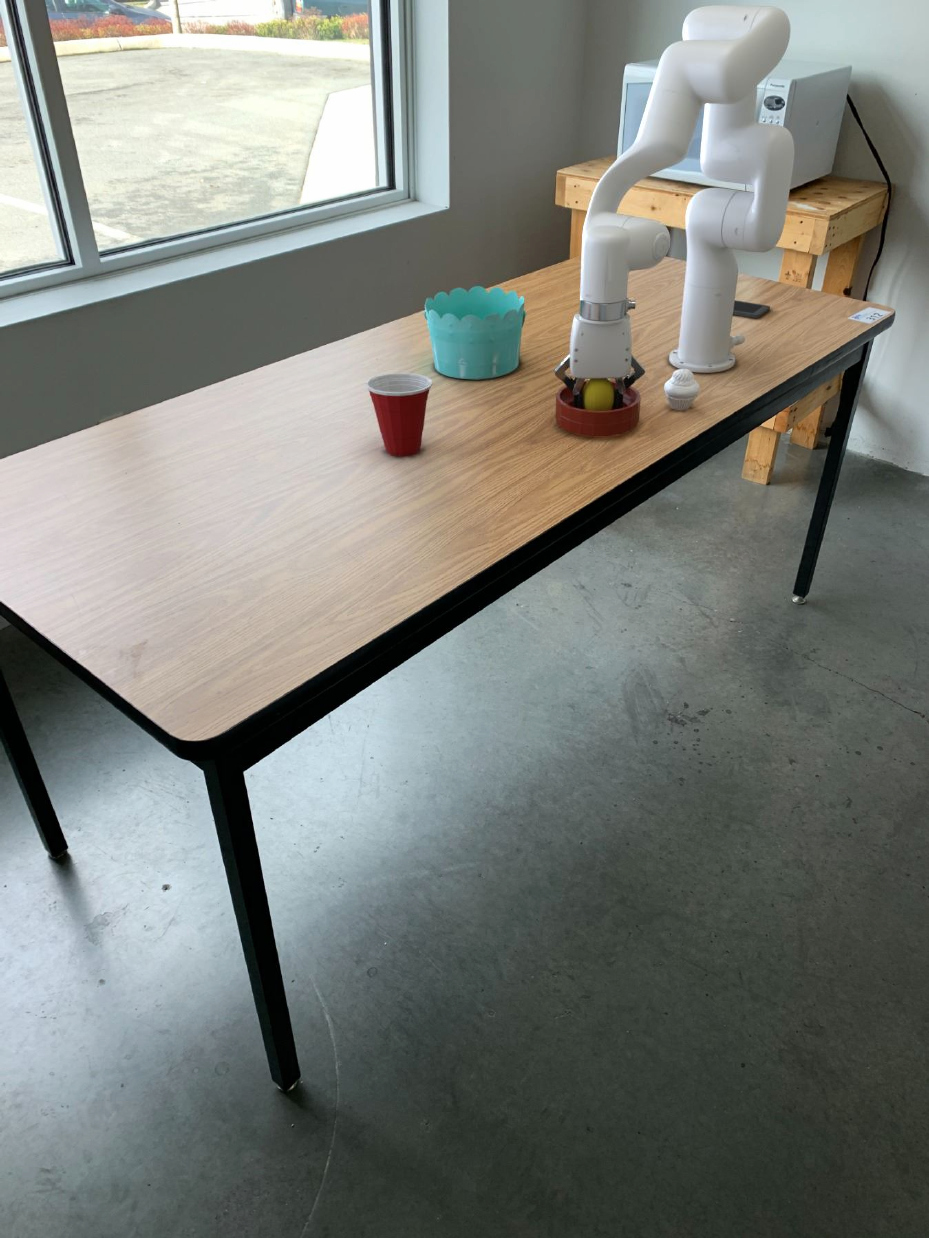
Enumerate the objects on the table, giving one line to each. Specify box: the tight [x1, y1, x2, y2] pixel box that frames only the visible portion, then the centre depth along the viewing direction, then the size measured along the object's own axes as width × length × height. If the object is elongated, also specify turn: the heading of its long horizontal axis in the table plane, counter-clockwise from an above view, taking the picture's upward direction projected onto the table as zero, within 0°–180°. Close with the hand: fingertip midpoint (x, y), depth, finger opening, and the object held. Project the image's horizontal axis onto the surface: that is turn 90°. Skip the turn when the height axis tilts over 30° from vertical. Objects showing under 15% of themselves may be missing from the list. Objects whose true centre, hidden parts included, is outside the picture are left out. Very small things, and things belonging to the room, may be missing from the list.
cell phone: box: [733, 299, 771, 319], centre depth 215 cm, size 7×14×1 cm, turn 55°
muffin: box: [663, 368, 700, 411], centre depth 171 cm, size 6×6×7 cm
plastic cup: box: [364, 372, 434, 458], centre depth 158 cm, size 11×11×12 cm
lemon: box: [582, 378, 615, 411], centre depth 165 cm, size 6×6×8 cm
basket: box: [423, 285, 527, 381], centre depth 189 cm, size 19×18×13 cm
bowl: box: [555, 379, 642, 438], centre depth 167 cm, size 14×14×5 cm
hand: (597, 412), depth 167 cm, fingers closed on lemon, 5 cm apart
